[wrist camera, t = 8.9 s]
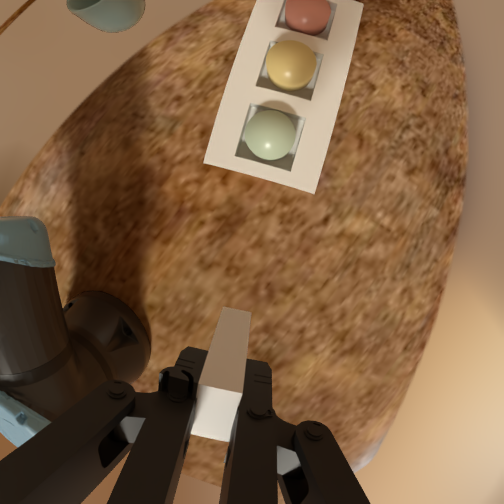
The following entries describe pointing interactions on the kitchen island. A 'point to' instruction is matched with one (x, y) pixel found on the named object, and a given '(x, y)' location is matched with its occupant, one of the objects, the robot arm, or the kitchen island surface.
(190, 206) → the kitchen island surface
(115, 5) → the cup
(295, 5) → the brick button
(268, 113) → the sage button
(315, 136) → the panel
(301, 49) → the ochre button
